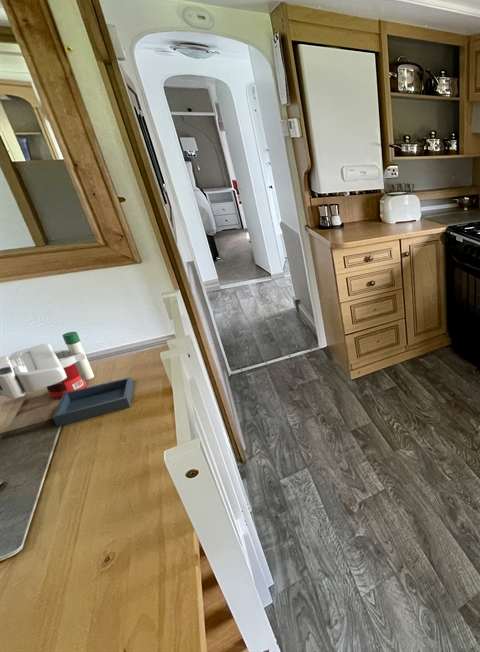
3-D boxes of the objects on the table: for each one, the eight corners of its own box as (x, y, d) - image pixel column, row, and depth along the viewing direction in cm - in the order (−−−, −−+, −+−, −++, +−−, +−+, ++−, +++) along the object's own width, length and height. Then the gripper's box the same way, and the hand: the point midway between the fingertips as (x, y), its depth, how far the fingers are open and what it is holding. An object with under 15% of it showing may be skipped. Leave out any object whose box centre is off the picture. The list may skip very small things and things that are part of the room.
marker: (80, 381, 101) (61, 337, 96) (82, 376, 103) (63, 333, 98) (93, 378, 103) (75, 334, 98) (95, 374, 105) (77, 330, 100)
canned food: (88, 380, 117) (75, 349, 113) (86, 392, 111) (72, 360, 107) (53, 389, 112) (38, 357, 108) (49, 402, 106) (33, 369, 102)
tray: (57, 426, 97) (52, 417, 96) (68, 401, 107) (63, 392, 106) (130, 407, 105) (126, 397, 104) (134, 385, 115) (131, 376, 114)
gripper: (5, 371, 98) (78, 351, 108) (15, 402, 86) (95, 376, 96) (-6, 350, 95) (70, 331, 105) (2, 378, 84) (86, 354, 94)
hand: (82, 352), depth 101 cm, fingers closed on marker, 2 cm apart
